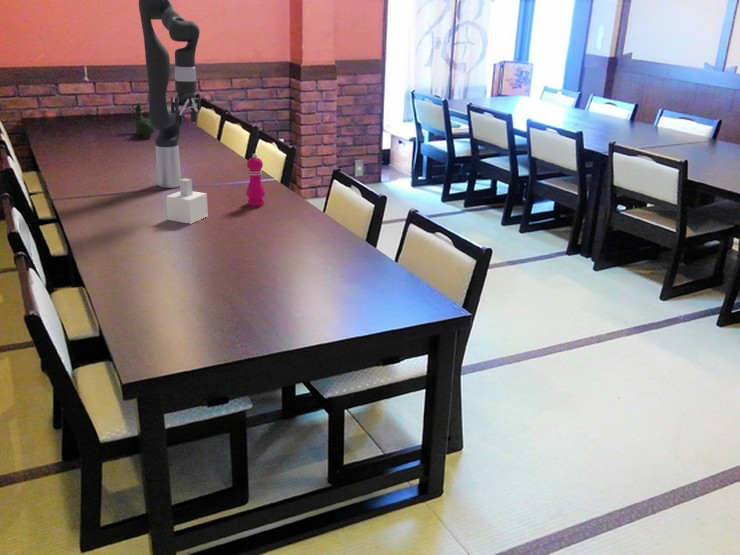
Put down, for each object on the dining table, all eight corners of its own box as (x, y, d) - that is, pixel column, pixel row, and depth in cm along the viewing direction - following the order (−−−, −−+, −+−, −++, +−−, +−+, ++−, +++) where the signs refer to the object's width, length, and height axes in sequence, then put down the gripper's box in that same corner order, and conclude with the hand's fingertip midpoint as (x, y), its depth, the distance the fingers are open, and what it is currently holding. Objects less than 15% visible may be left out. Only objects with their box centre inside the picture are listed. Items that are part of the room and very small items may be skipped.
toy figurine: (132, 136, 392) (140, 140, 371) (128, 102, 386) (136, 104, 365) (148, 135, 396) (158, 139, 375) (145, 102, 390) (154, 104, 369)
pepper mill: (268, 203, 271) (267, 153, 264) (258, 207, 265) (257, 156, 257) (253, 200, 274) (252, 151, 266) (243, 204, 268) (241, 154, 260)
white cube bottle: (167, 219, 247) (164, 180, 241) (185, 212, 256) (182, 174, 250) (191, 224, 243) (188, 184, 238) (208, 216, 252) (205, 178, 247)
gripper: (189, 76, 256) (190, 119, 263) (164, 79, 244) (166, 124, 251) (205, 78, 254) (206, 122, 260) (181, 81, 242) (182, 127, 248)
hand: (186, 123), depth 255 cm, fingers open, 8 cm apart
